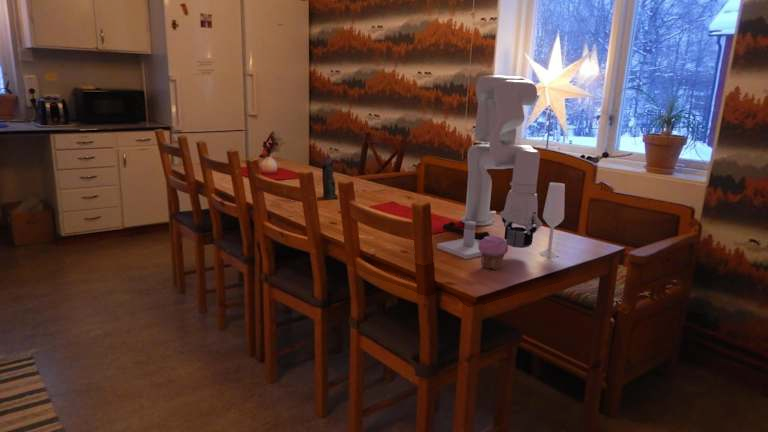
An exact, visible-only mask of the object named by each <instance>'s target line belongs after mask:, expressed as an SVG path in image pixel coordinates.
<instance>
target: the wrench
mask: <svg viewBox="0 0 768 432" xmlns="http://www.w3.org/2000/svg"><path fill="white" fill-rule="evenodd" d="M442 227H443V228H444V229H446V230H449V231H451V232H452V233H456V234H459V235H462V236H464V228H460V227H456V223H455V222H454V221H450V222H448V223H444V224H443V225H442ZM487 236H491V235H490V233H489V231H482V232H477V231H475V238H474V239H477V240H480V241H481V240H482V239H484V238H485V237H487Z"/></svg>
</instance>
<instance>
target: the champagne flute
mask: <svg viewBox="0 0 768 432" xmlns="http://www.w3.org/2000/svg"><path fill="white" fill-rule="evenodd" d="M565 186H566V185H565V183H560V182H549V185H548V189H547V193H546V194H547V195H546V199H545V204H544V209H543V213H542V218H543V221H545V222H546V224H547V226H549V227H550V229H549V235H548V236H549V237H548V245H547V249H544V250H541V251H540V252H538V254H539V256H541V255H542V256H541V257H544V256H545V257H544V258H550V257H555V258H557V257H556V256H558V255H559V254H558V253H557V252H556V251H554V250H553V249H552V247H553V240H554V239H553V238H554V231H555V229H554V228H555V227H557V226H558V225H560V224H561V223H562V222H563V220H564V219H565V195H566V194H565V193H566V191H565V190H566V187H565Z"/></svg>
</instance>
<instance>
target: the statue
mask: <svg viewBox="0 0 768 432" xmlns="http://www.w3.org/2000/svg"><path fill="white" fill-rule="evenodd" d="M333 161H334V159H333V157H332V156H330V155H329V156H326V157H324V160H323V161H322V167H321V168H322V171H321V172H322V177H321V178H322V187H323V188H322V192H323V193H322V198H323V197H324V198H323V199H326V198H327V199H332V200H336V199H335V198H337V197H338V196H339V195H338V194H336V191H337V188H336V181H335V180H336V178H335V177H334V171H333V170H334V162H333ZM327 199H326V200H327Z"/></svg>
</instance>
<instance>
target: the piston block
mask: <svg viewBox="0 0 768 432" xmlns="http://www.w3.org/2000/svg"><path fill="white" fill-rule="evenodd" d="M476 226H477V225H476V223H475V222H472V221H466V222H465V223H464V228H463V229H464V235H463V238H458V239H454V240H447V241H444V242H439V243H436V248H437V250H441V251H443V252H446V253H448V254H451V255H454V256H457V257H460V258H463V259H465V260H470V259H473V258H477V257H482V255H481V252H480V251H479V249H478V245H479V242H480V240H477V239H474V238H475V232H476Z"/></svg>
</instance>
